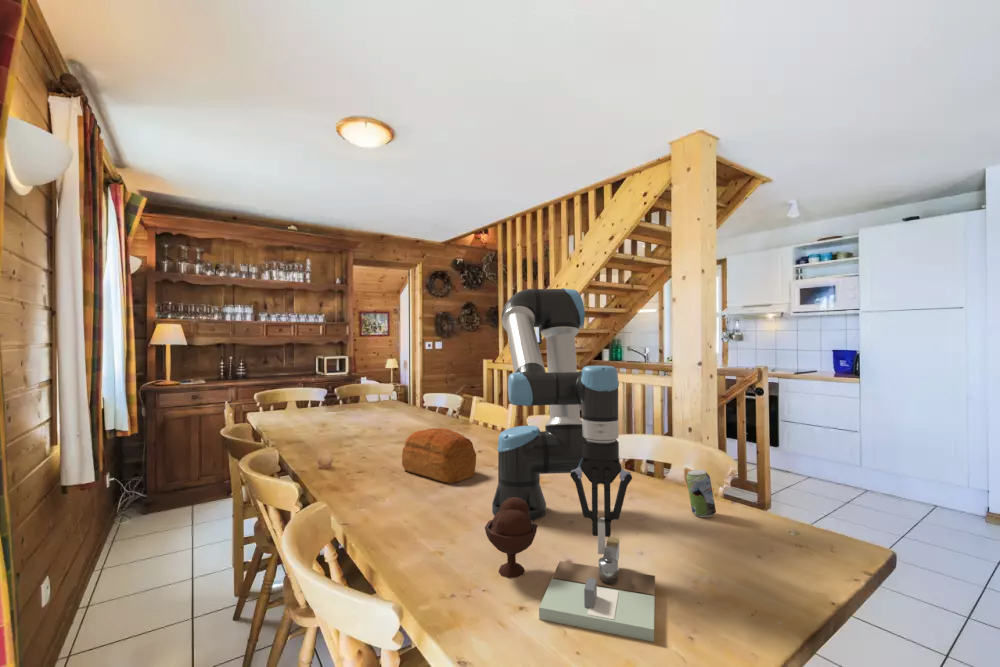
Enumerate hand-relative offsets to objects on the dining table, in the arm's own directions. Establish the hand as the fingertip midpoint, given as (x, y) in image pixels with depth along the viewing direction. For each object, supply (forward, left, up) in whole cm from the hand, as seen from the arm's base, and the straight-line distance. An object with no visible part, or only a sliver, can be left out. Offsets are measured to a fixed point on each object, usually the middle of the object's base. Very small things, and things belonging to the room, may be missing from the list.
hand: (601, 551), depth 97 cm
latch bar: (+2, -3, -1) cm, 4 cm away
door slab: (+1, -16, -4) cm, 16 cm away
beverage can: (+22, +38, -4) cm, 44 cm away
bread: (-64, +52, -4) cm, 82 cm away
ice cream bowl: (-18, -7, -4) cm, 19 cm away
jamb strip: (+1, -7, -4) cm, 8 cm away
